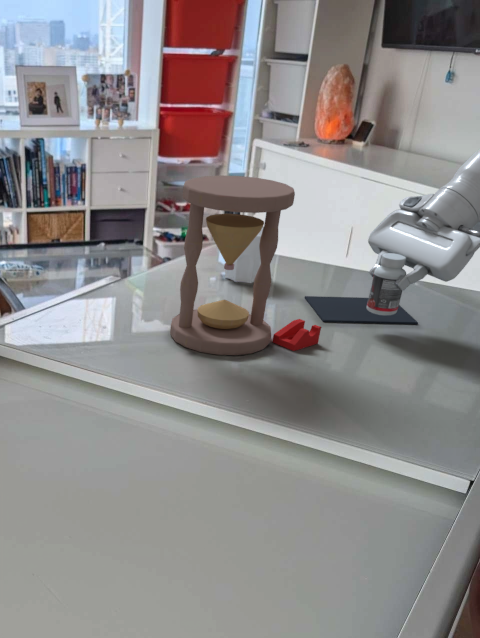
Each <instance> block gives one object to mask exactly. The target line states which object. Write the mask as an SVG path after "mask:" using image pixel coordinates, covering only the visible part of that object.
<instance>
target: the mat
mask: <svg viewBox="0 0 480 638" xmlns="http://www.w3.org/2000/svg"><path fill="white" fill-rule="evenodd" d="M368 298H369V297H353V296H351V297H350V296H349V297H348V296H315V295H313V296H312V295H305V296H304V299H305V301H306V302H307V303H308V305H309V306H310V307H311V309H313V311H314V312H315V313H316V315H317V316H318V317H319V319H320V320H321V321H322V323H347V324H351V323H352V324H353V323H354V324H382V325H383V324H388V325H389V324H390V325H419V324H418V323H419V322H418V321H417V320H416V319H415V318H414V317H413V316H412V315H411V314H410V313H409V312H408V311H406V310H405V309H404V307H402V306H401V305H400V304H399V306H398V310H397V312H396V313H395V314H393V315H378V314H374V313H371V312H369V311H368V310H367V302H368Z"/></svg>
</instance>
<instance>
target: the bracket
mask: <svg viewBox="0 0 480 638" xmlns="http://www.w3.org/2000/svg"><path fill="white" fill-rule="evenodd" d="M305 324H306V321H305V320H303V319H301V318H297V319H294V320H291V322H288V323H287V324H286V325H285V326H283V327H282V328H280V329H279V330H278V331H276V332H275V333H273V334H272V335H273V337H272V343H273V344H275V345H278V346H280V347H282V348H285V349H287V350H289V351H293V352H295V351H296V352H297V351H299V350H302V349H305V348H308V347H311V346H314V345H318V344H319V340H320V335H321V331H322V330H321V329H322V326H320V325H318V324H314V325H311V328H310V330H308V329H306V328H305Z"/></svg>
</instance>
